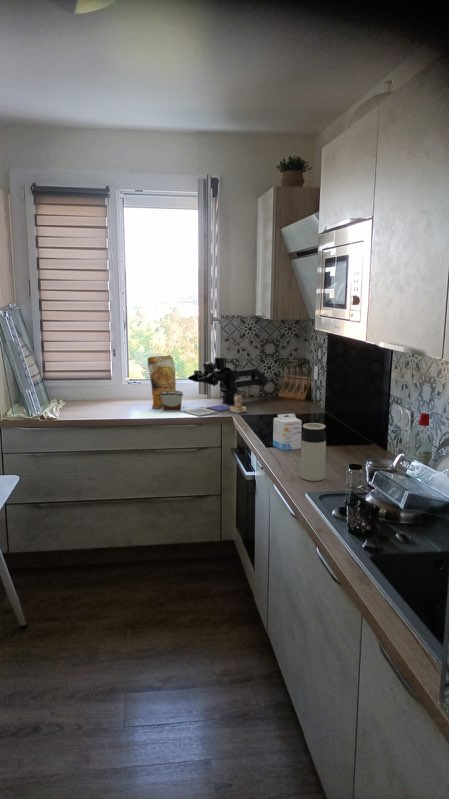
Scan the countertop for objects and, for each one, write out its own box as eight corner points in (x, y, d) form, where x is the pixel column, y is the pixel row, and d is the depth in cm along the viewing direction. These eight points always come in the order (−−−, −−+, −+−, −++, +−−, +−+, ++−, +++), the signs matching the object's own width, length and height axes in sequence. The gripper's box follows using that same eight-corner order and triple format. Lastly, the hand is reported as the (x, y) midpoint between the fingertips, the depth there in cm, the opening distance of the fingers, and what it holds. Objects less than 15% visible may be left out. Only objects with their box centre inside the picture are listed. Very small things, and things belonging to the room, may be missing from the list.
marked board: (200, 409, 297) (200, 407, 297) (217, 413, 286) (217, 411, 286) (182, 412, 290) (182, 410, 289) (199, 416, 278) (199, 415, 278)
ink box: (282, 451, 216) (283, 417, 214) (272, 445, 224) (272, 413, 221) (301, 448, 219) (302, 415, 217) (290, 443, 227) (291, 411, 225)
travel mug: (316, 483, 179) (317, 429, 175) (296, 478, 184) (297, 425, 181) (329, 477, 184) (331, 425, 181) (309, 472, 190) (310, 421, 186)
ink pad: (221, 406, 304) (221, 404, 304) (234, 409, 296) (234, 407, 296) (206, 408, 297) (206, 407, 297) (219, 412, 289) (219, 410, 289)
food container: (185, 408, 298) (185, 390, 296) (183, 411, 292) (183, 392, 290) (163, 408, 300) (162, 390, 298) (160, 410, 294) (160, 392, 292)
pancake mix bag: (145, 407, 301) (143, 357, 296) (173, 403, 314) (172, 354, 308) (152, 409, 296) (151, 357, 291) (180, 404, 309) (179, 355, 304)
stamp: (238, 410, 293) (238, 394, 291) (246, 412, 288) (246, 396, 287) (230, 412, 289) (229, 396, 287) (237, 413, 285) (237, 397, 283)
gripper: (205, 360, 308) (182, 362, 299) (226, 363, 294) (203, 365, 284) (205, 379, 310) (183, 382, 301) (226, 383, 296) (204, 386, 287)
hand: (193, 379), depth 293 cm, fingers open, 9 cm apart
